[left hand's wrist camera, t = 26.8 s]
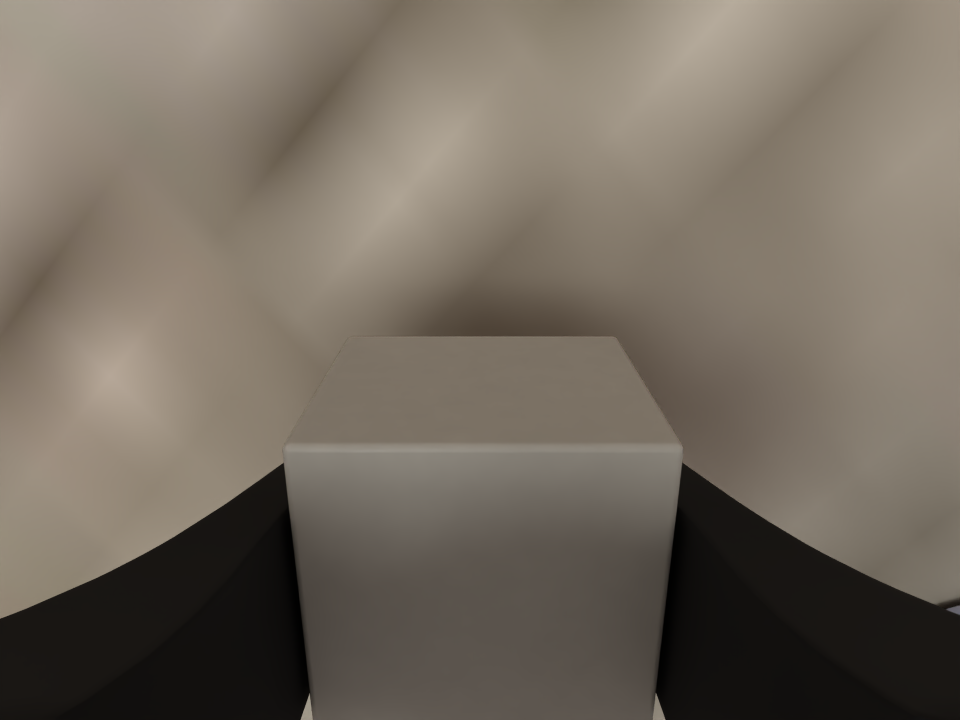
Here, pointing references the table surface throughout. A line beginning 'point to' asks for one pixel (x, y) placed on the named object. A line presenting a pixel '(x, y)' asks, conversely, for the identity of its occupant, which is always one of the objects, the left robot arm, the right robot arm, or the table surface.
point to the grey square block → (482, 530)
